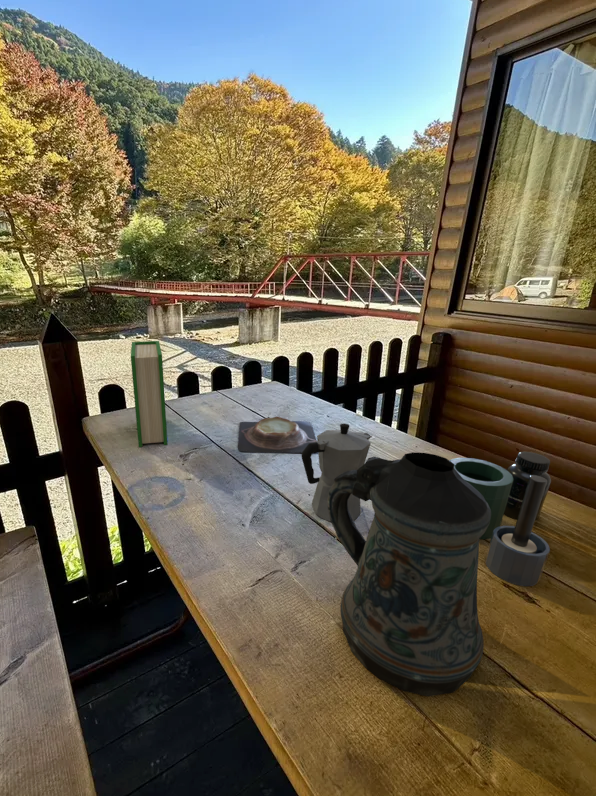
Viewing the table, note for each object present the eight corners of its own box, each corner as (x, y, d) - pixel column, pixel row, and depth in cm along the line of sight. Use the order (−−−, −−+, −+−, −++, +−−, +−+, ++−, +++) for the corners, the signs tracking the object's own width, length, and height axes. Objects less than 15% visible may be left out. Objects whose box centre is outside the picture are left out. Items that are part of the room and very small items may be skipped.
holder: (523, 558, 66) (532, 527, 64) (548, 590, 60) (560, 557, 58) (477, 554, 67) (485, 523, 65) (497, 586, 61) (507, 553, 59)
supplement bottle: (503, 521, 76) (519, 463, 71) (490, 501, 82) (504, 447, 77) (545, 526, 74) (565, 468, 70) (529, 505, 80) (546, 450, 76)
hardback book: (167, 444, 107) (162, 354, 98) (138, 447, 106) (130, 356, 97) (163, 420, 123) (158, 340, 115) (138, 422, 122) (131, 341, 113)
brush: (496, 555, 66) (521, 468, 61) (529, 567, 64) (558, 477, 58) (492, 570, 63) (518, 480, 57) (527, 583, 61) (558, 490, 55)
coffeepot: (346, 490, 86) (355, 409, 79) (379, 513, 78) (392, 427, 71) (283, 508, 80) (288, 423, 73) (313, 536, 72) (321, 443, 65)
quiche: (310, 422, 121) (311, 410, 119) (321, 454, 102) (322, 439, 100) (239, 421, 122) (239, 409, 120) (237, 452, 103) (237, 437, 101)
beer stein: (497, 718, 43) (565, 521, 34) (311, 672, 48) (329, 489, 39) (459, 600, 58) (500, 441, 49) (320, 574, 63) (334, 425, 54)
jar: (482, 510, 79) (495, 459, 75) (508, 543, 70) (525, 487, 66) (428, 506, 80) (438, 456, 76) (446, 539, 71) (459, 483, 67)
